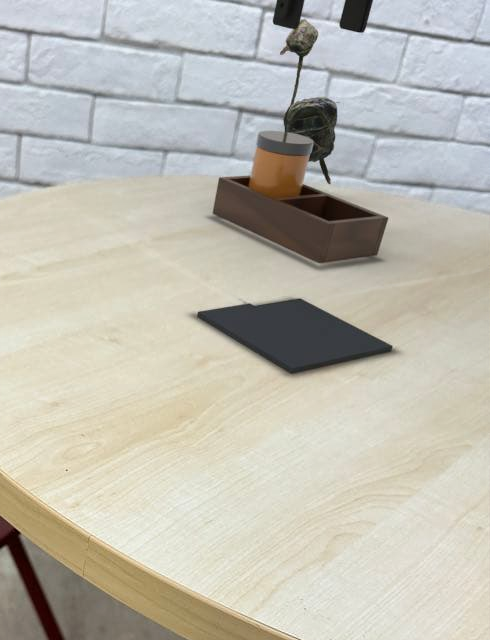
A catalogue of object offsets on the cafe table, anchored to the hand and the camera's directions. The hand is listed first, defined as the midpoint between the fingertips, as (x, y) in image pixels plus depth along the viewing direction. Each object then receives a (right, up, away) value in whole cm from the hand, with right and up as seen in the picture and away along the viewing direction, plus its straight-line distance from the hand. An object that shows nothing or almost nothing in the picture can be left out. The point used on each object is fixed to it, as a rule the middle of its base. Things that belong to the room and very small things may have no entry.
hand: (318, 28), depth 87 cm
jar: (-3, -15, +12) cm, 20 cm away
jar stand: (-1, -18, +10) cm, 21 cm away
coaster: (-6, -35, -13) cm, 38 cm away
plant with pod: (+2, -7, +26) cm, 27 cm away
